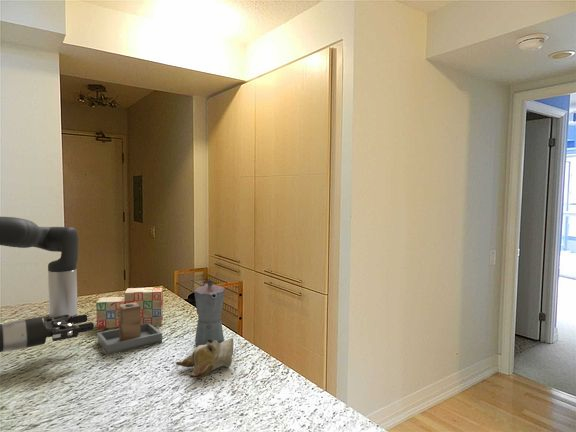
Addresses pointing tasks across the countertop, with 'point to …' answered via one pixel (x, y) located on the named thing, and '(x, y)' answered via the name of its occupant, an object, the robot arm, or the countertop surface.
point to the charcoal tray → (115, 345)
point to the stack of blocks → (144, 297)
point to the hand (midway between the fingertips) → (90, 321)
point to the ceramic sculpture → (209, 357)
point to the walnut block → (129, 321)
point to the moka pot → (209, 313)
